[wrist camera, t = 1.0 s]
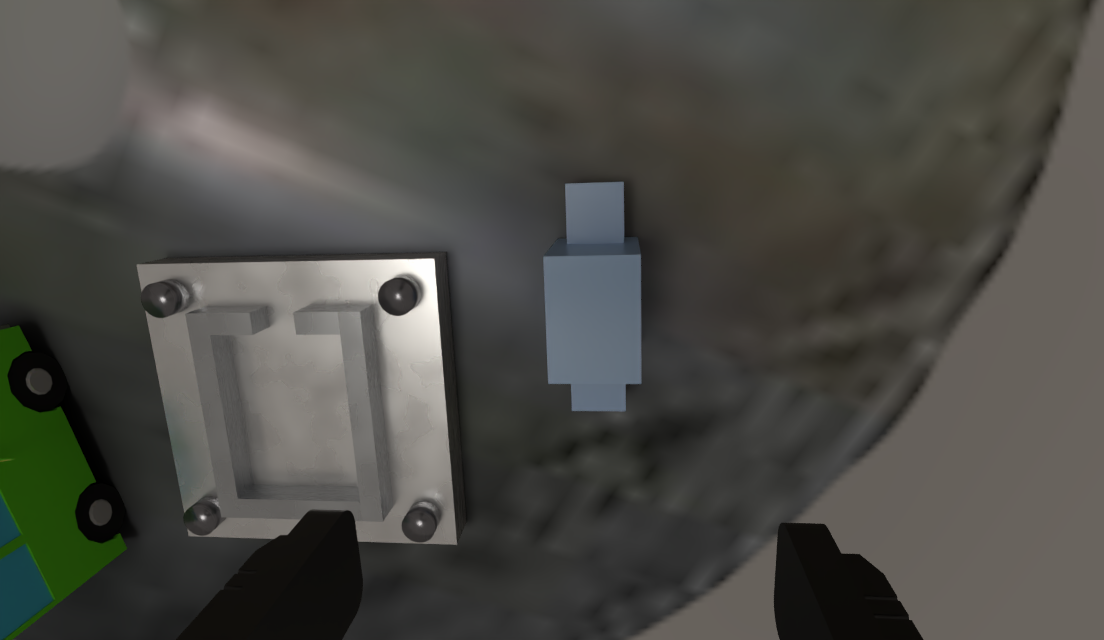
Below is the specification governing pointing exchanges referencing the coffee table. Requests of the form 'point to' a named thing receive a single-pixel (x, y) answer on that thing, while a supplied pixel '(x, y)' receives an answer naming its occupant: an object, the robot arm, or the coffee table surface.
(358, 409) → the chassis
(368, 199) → the coffee table surface
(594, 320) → the block
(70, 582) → the toy car
